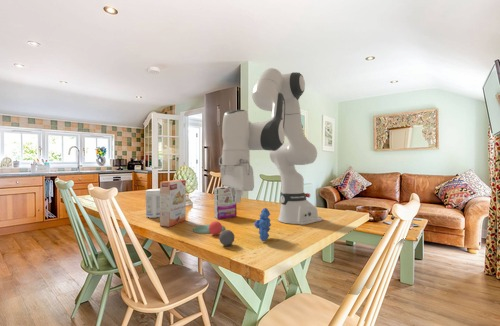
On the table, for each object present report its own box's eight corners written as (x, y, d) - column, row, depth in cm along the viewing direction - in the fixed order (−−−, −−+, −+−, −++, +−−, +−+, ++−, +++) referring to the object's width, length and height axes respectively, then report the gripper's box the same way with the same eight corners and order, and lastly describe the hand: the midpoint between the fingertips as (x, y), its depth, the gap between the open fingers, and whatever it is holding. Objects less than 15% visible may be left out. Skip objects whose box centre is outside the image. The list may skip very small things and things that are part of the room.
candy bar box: (232, 215, 139) (232, 185, 139) (236, 216, 135) (236, 186, 134) (213, 217, 134) (213, 186, 133) (217, 219, 129) (217, 187, 129)
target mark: (219, 223, 121) (219, 223, 121) (229, 231, 108) (229, 230, 108) (190, 226, 115) (190, 226, 115) (197, 235, 102) (197, 234, 102)
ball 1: (219, 232, 106) (219, 219, 106) (224, 235, 101) (223, 222, 101) (207, 233, 104) (207, 220, 104) (210, 237, 99) (210, 223, 99)
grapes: (256, 234, 103) (256, 205, 103) (273, 235, 101) (272, 206, 101) (250, 244, 91) (250, 211, 91) (269, 245, 90) (268, 212, 90)
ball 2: (231, 241, 94) (231, 227, 94) (236, 246, 89) (236, 231, 89) (217, 244, 91) (217, 229, 91) (222, 248, 86) (221, 233, 86)
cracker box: (170, 227, 114) (170, 181, 114) (159, 226, 116) (158, 181, 116) (186, 220, 128) (186, 179, 127) (176, 219, 129) (175, 179, 129)
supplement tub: (164, 213, 143) (164, 188, 143) (164, 217, 134) (164, 190, 134) (146, 215, 140) (145, 189, 140) (145, 219, 131) (145, 191, 131)
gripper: (259, 159, 73) (259, 206, 73) (233, 159, 92) (234, 197, 92) (239, 159, 70) (239, 208, 70) (217, 159, 89) (217, 198, 89)
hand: (236, 202), depth 81 cm, fingers closed
